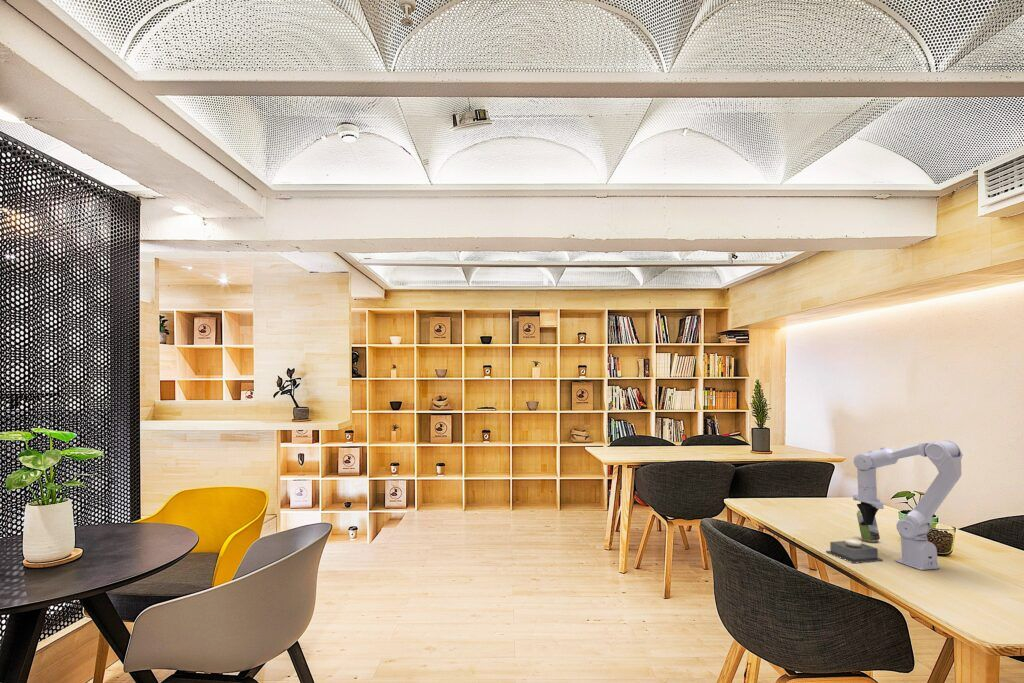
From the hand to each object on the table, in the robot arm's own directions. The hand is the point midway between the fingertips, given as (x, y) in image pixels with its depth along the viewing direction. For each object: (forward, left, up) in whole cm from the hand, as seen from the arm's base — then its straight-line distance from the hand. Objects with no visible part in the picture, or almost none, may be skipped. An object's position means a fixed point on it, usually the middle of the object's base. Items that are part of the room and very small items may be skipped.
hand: (868, 524), depth 198 cm
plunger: (-3, +10, -9) cm, 14 cm away
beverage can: (+12, -12, -10) cm, 20 cm away
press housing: (-3, +10, -10) cm, 14 cm away
